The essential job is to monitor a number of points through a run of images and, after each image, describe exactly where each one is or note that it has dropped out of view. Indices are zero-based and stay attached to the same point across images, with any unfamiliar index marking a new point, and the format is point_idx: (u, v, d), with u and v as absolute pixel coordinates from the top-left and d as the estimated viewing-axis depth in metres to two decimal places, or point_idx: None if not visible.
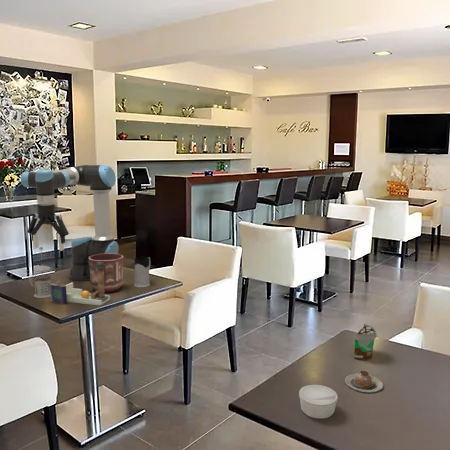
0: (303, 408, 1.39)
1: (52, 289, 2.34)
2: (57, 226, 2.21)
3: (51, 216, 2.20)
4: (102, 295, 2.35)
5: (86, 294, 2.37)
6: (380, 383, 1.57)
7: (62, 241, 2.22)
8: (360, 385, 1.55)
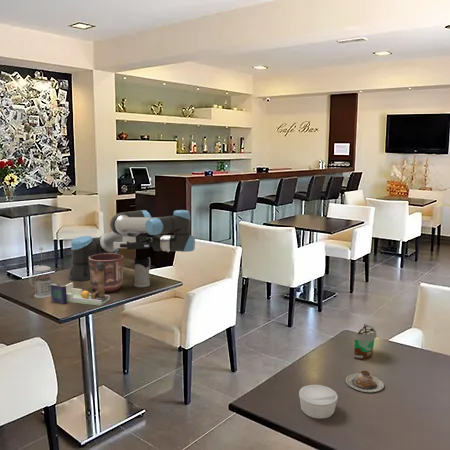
0: (303, 408, 1.39)
1: (52, 289, 2.34)
2: None
3: None
4: (102, 295, 2.35)
5: (86, 294, 2.37)
6: (381, 383, 1.57)
7: None
8: (361, 385, 1.55)
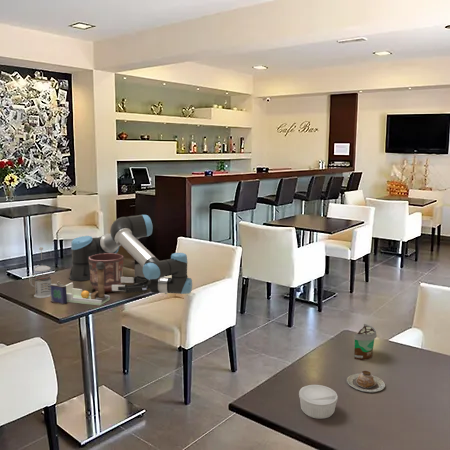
0: (303, 408, 1.39)
1: (52, 289, 2.34)
2: None
3: None
4: (102, 295, 2.35)
5: (86, 294, 2.37)
6: (382, 383, 1.57)
7: None
8: (362, 385, 1.55)
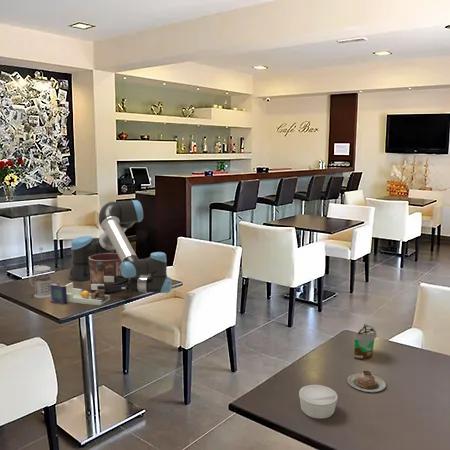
0: (303, 408, 1.39)
1: (52, 289, 2.34)
2: None
3: None
4: (102, 295, 2.35)
5: (86, 294, 2.37)
6: (383, 383, 1.57)
7: None
8: (363, 385, 1.55)
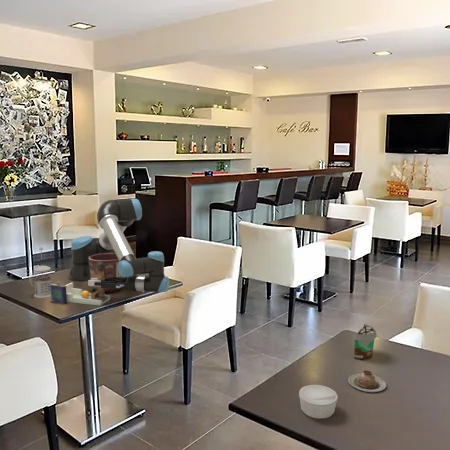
0: (303, 408, 1.39)
1: (52, 289, 2.34)
2: None
3: None
4: (102, 295, 2.35)
5: (86, 294, 2.37)
6: (383, 383, 1.57)
7: None
8: (363, 385, 1.55)
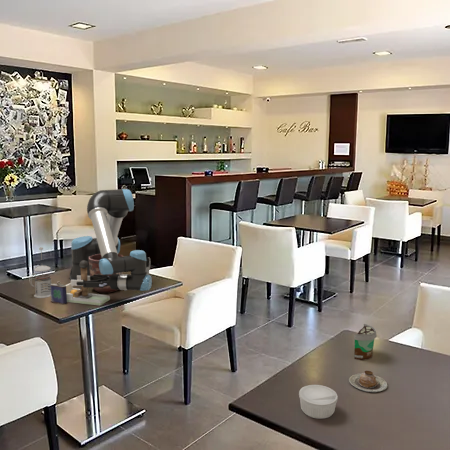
0: (303, 408, 1.39)
1: (52, 289, 2.34)
2: None
3: None
4: (85, 293, 2.37)
5: (70, 293, 2.39)
6: (384, 383, 1.57)
7: None
8: (364, 385, 1.55)
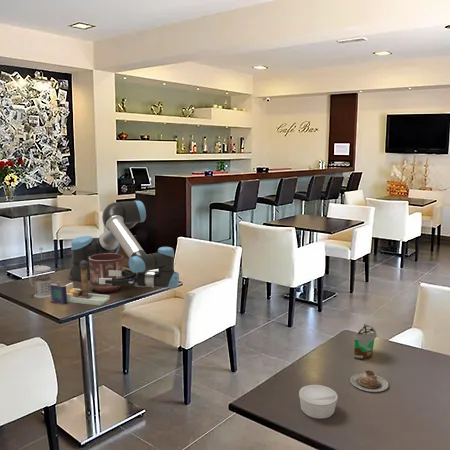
0: (303, 408, 1.39)
1: (52, 289, 2.34)
2: None
3: None
4: (85, 293, 2.37)
5: None
6: (385, 382, 1.57)
7: None
8: (366, 385, 1.55)
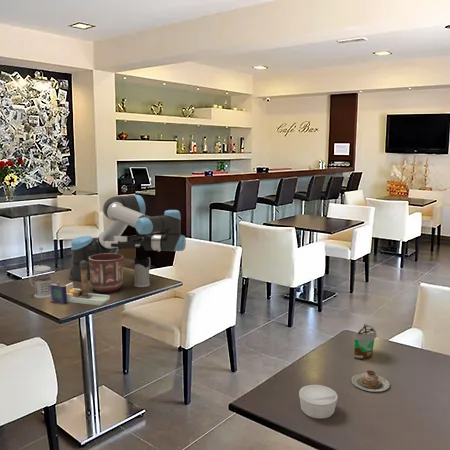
0: (303, 408, 1.39)
1: (52, 289, 2.34)
2: None
3: None
4: (85, 293, 2.37)
5: None
6: (387, 382, 1.57)
7: None
8: (367, 385, 1.55)
